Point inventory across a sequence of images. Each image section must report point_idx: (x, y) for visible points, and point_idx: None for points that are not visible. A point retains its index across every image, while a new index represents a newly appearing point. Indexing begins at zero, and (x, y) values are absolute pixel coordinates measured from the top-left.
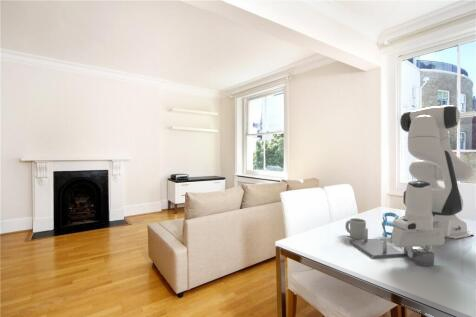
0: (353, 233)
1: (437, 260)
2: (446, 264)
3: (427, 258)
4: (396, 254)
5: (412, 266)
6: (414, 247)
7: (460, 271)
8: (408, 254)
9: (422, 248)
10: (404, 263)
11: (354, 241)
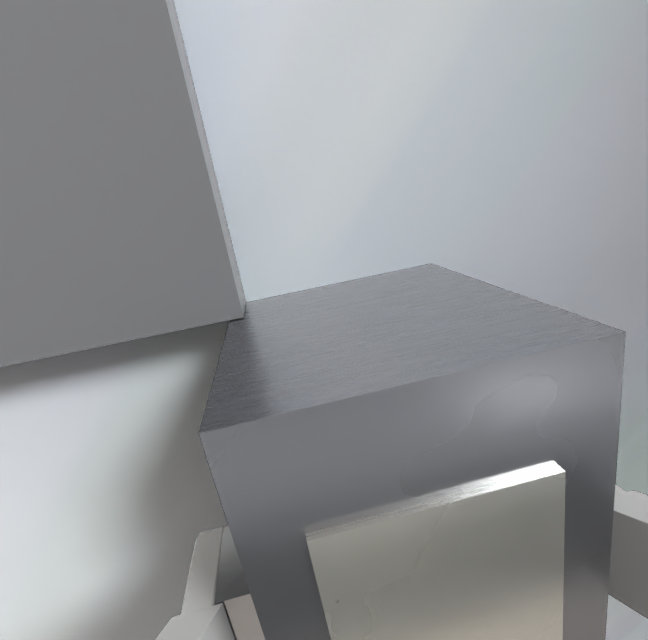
0: None
1: (644, 398)
2: (643, 492)
3: None
4: (47, 355)
5: (175, 615)
6: (410, 635)
7: (627, 615)
8: (197, 562)
9: (587, 629)
10: (102, 554)
11: None
